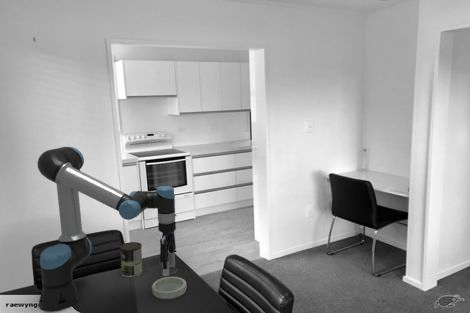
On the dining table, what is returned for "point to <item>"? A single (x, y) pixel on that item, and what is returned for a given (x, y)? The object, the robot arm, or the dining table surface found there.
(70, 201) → the robot arm
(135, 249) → the coffee can
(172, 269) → the pocket watch
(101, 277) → the dining table surface
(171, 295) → the dish
